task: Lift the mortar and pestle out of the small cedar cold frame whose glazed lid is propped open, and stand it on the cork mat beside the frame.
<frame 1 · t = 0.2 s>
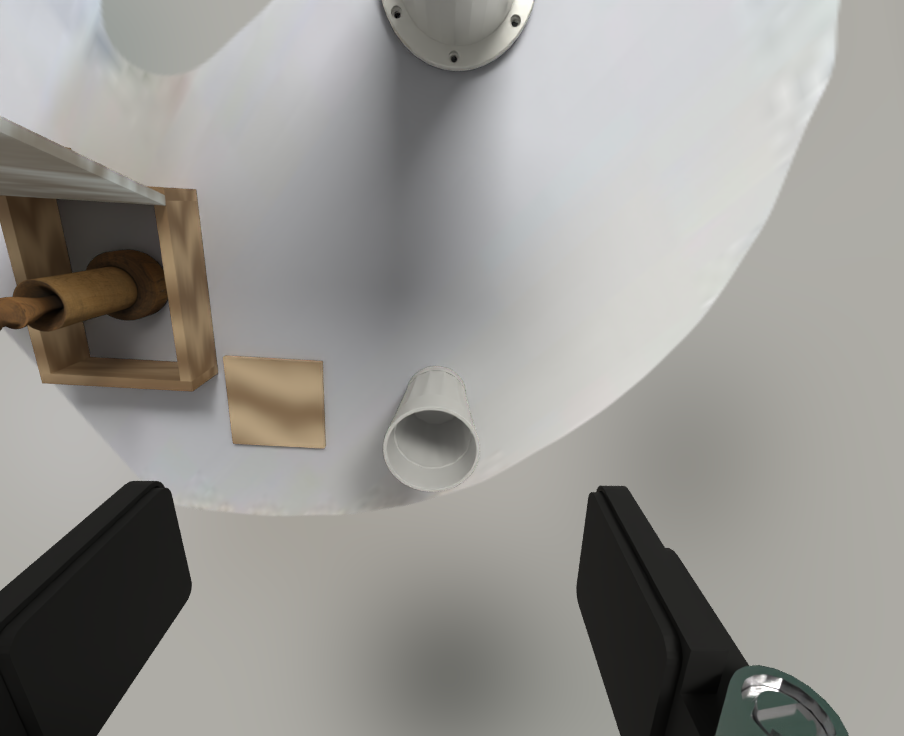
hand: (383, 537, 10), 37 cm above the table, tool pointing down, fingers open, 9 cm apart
cold frame: (135, 283, 45), on the table
cork mat: (277, 402, 49), on the table
cup: (436, 393, 49), on the table
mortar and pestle: (137, 282, 45), resting in cold frame
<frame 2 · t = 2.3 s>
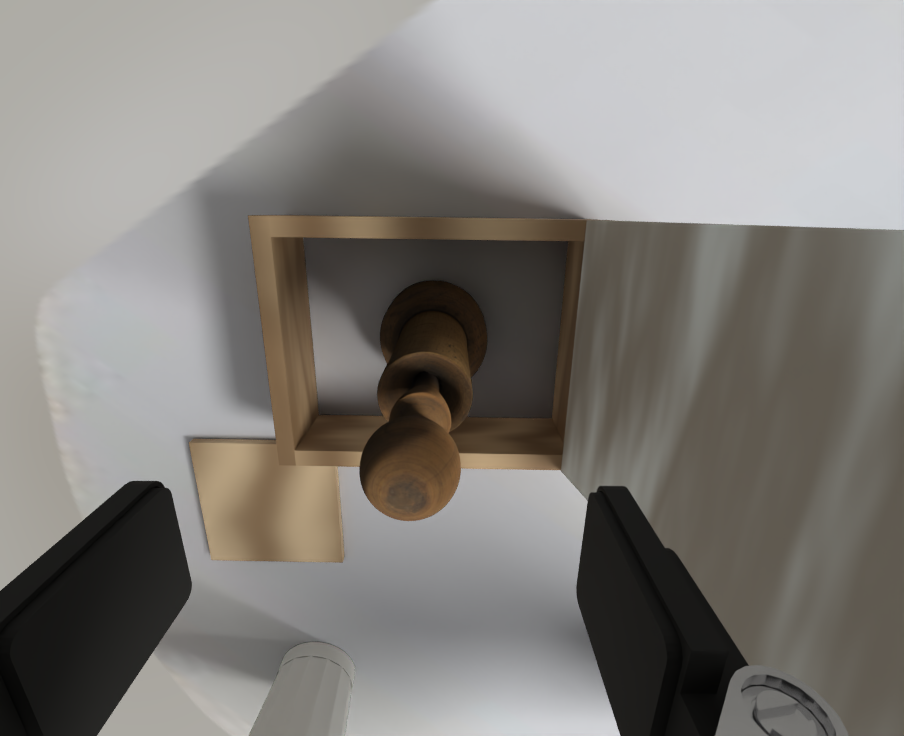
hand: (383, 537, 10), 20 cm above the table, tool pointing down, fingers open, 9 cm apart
cold frame: (435, 331, 29), on the table
cork mat: (272, 500, 34), on the table
cup: (319, 667, 39), on the table
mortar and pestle: (435, 330, 30), resting in cold frame
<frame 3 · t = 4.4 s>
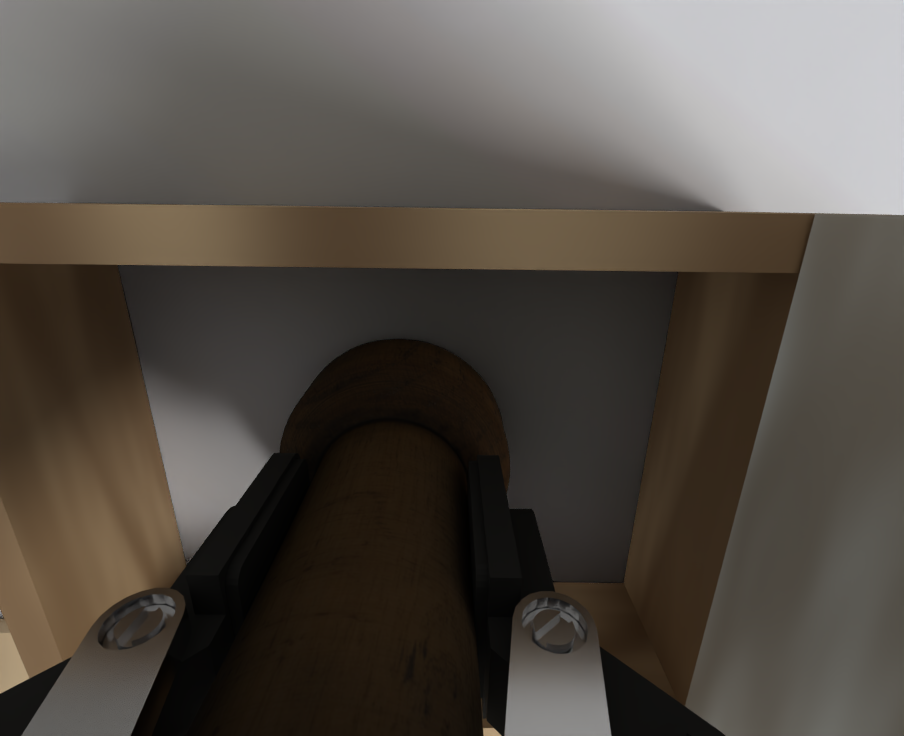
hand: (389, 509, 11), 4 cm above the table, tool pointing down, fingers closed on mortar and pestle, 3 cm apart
cold frame: (403, 435, 15), on the table
cork mat: (123, 709, 19), on the table
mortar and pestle: (404, 432, 15), resting in cold frame, touching gripper
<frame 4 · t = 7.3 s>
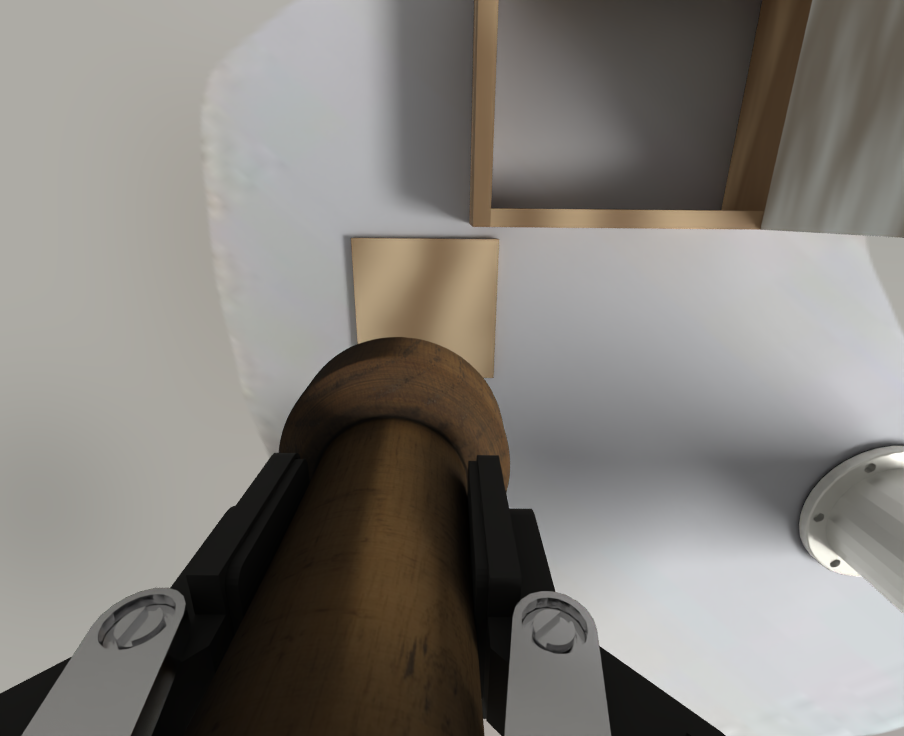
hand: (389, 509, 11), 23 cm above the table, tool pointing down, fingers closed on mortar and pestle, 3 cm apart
cold frame: (614, 108, 29), on the table
cork mat: (426, 310, 33), on the table
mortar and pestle: (403, 430, 15), point 19 cm above the table, touching gripper
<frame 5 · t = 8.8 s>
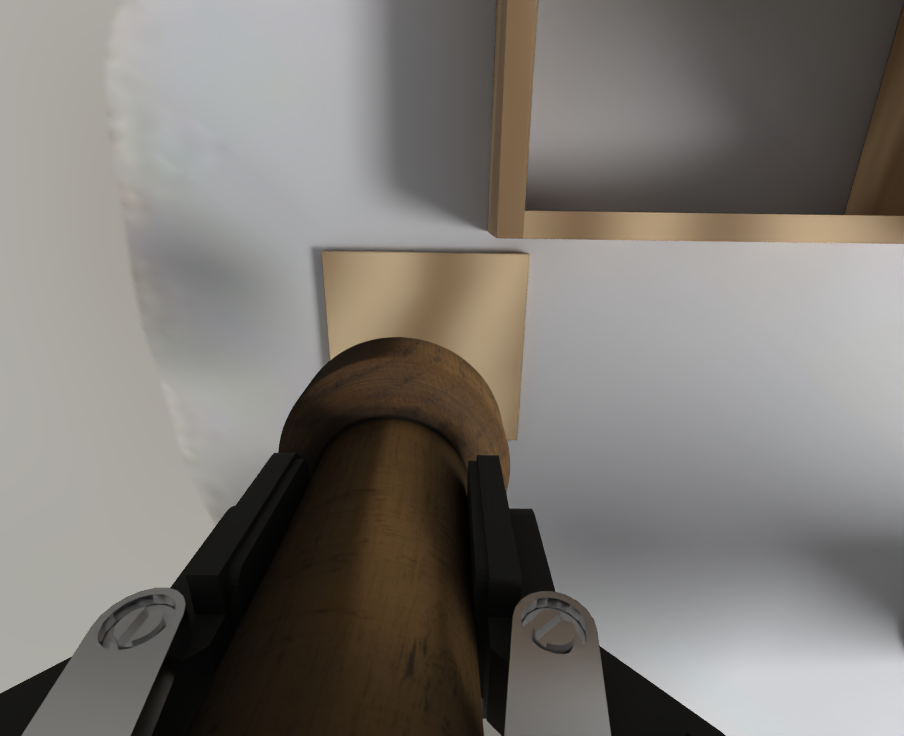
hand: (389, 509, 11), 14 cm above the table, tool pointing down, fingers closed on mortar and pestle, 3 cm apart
cold frame: (701, 66, 20), on the table
cork mat: (426, 349, 24), on the table
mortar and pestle: (403, 430, 15), point 10 cm above the table, touching gripper
when the fingers open (6 cm above the table, at t = 10.3 s): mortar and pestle drops 2 cm, resting on cork mat.
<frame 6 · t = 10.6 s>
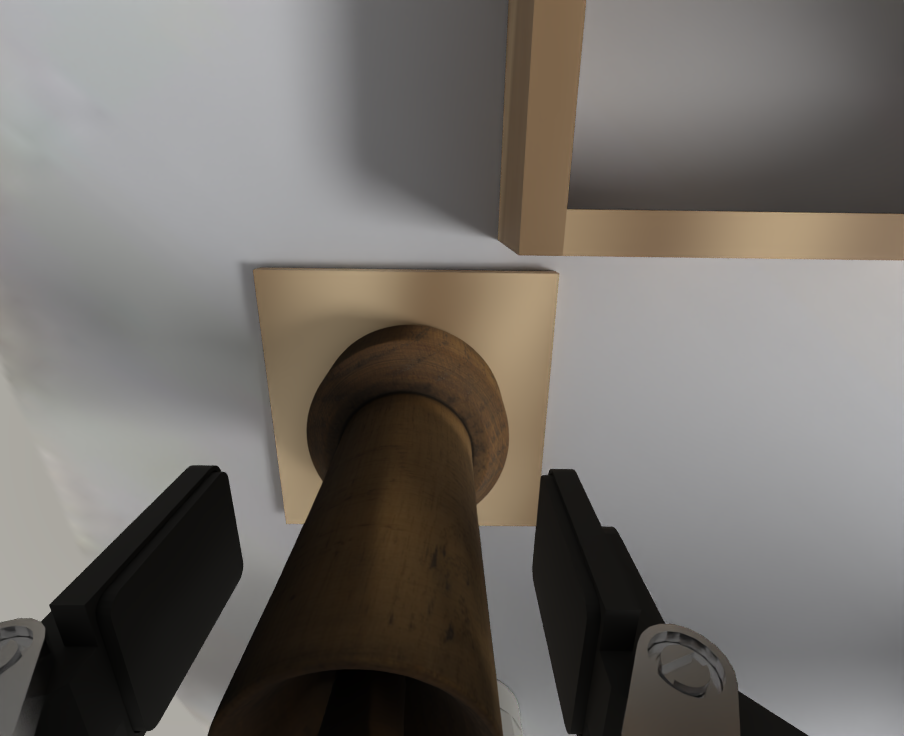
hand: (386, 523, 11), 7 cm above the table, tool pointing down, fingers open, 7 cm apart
cork mat: (410, 404, 17), on the table
cup: (456, 710, 23), on the table
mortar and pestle: (414, 409, 17), resting on cork mat
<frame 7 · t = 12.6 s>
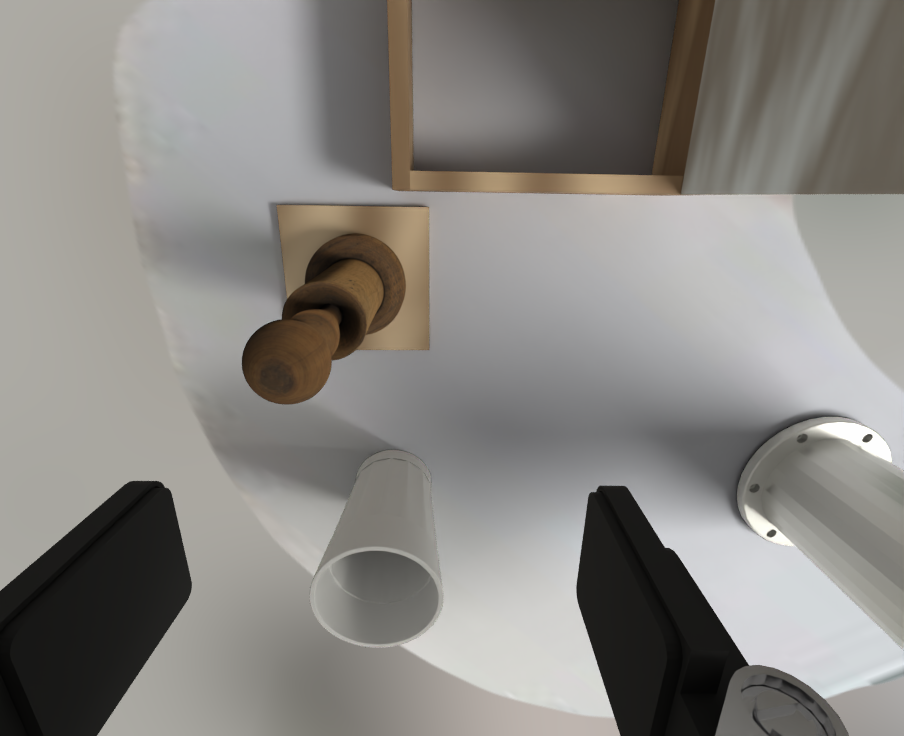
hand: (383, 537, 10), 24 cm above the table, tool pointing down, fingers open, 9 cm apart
cold frame: (541, 72, 28), on the table
cork mat: (358, 280, 32), on the table
cup: (394, 481, 39), on the table
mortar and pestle: (360, 281, 32), resting on cork mat
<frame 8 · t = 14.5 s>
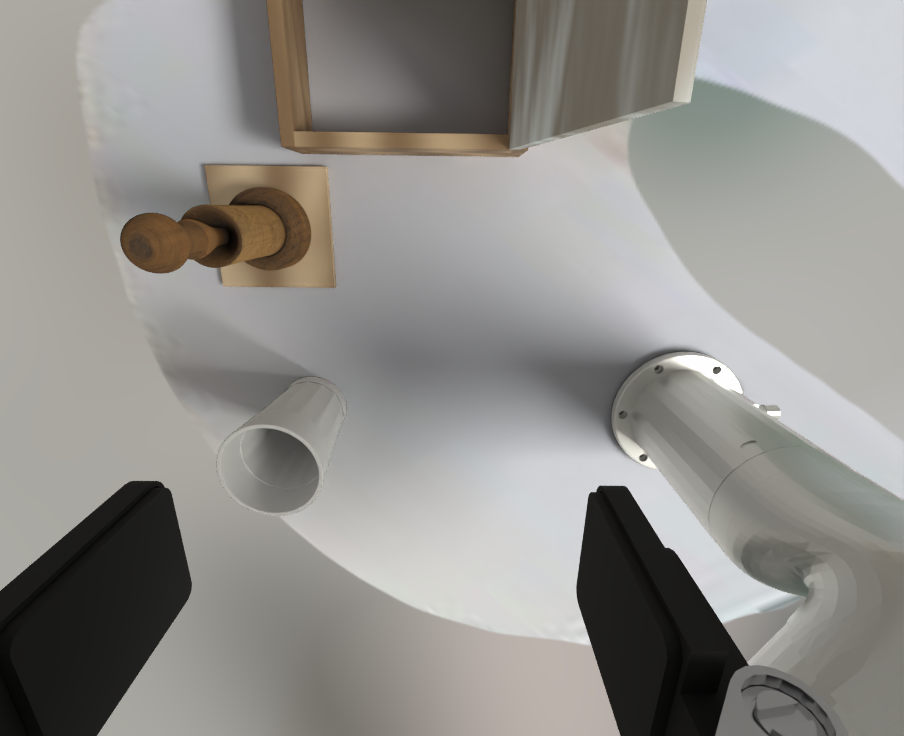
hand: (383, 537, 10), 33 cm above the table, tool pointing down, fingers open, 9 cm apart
cold frame: (409, 57, 36), on the table
cork mat: (274, 228, 40), on the table
cup: (315, 405, 46), on the table
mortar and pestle: (275, 229, 39), resting on cork mat
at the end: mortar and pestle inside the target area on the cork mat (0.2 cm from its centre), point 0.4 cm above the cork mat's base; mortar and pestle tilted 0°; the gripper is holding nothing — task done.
